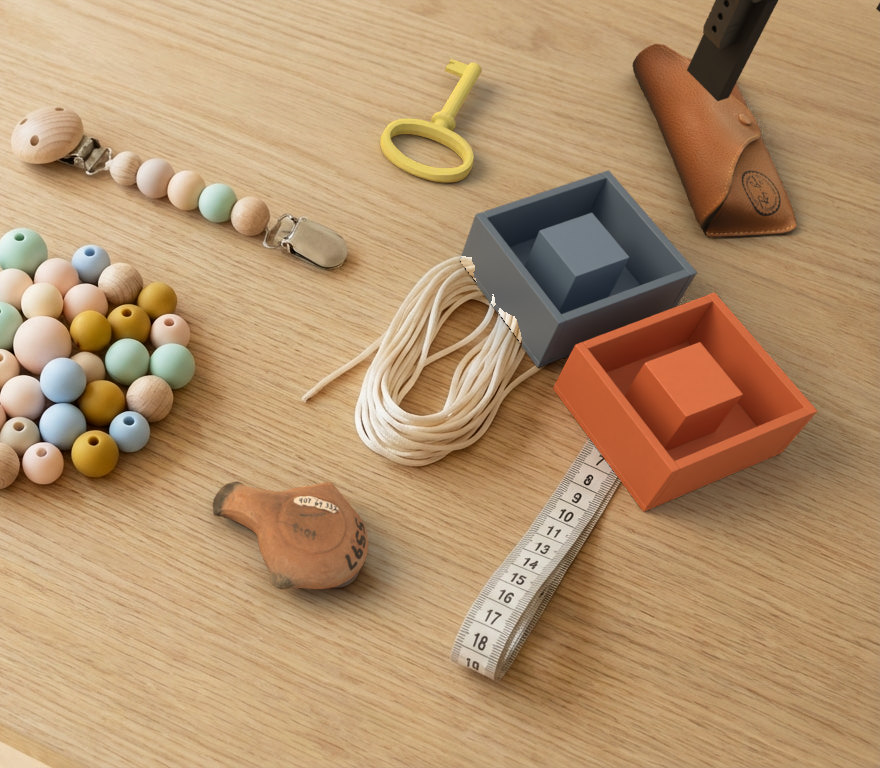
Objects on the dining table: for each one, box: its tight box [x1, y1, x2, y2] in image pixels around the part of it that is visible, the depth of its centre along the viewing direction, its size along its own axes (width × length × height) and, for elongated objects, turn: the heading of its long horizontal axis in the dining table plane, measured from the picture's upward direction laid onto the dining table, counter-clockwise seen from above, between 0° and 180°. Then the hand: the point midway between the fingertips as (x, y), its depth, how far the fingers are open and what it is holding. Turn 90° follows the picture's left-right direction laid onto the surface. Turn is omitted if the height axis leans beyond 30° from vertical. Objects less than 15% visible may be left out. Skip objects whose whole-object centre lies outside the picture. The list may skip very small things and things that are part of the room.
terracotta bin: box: [552, 292, 818, 512], centre depth 79 cm, size 11×10×5 cm
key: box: [379, 58, 483, 184], centre depth 95 cm, size 7×12×2 cm, turn 170°
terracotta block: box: [625, 342, 743, 451], centre depth 78 cm, size 4×4×4 cm
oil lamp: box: [212, 481, 369, 590], centre depth 73 cm, size 9×4×8 cm
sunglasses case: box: [632, 43, 798, 239], centre depth 94 cm, size 18×7×7 cm
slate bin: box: [460, 170, 698, 368], centre depth 85 cm, size 11×10×5 cm
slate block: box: [525, 213, 629, 315], centre depth 84 cm, size 4×4×4 cm
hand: (804, 52), depth 69 cm, fingers open, 13 cm apart
